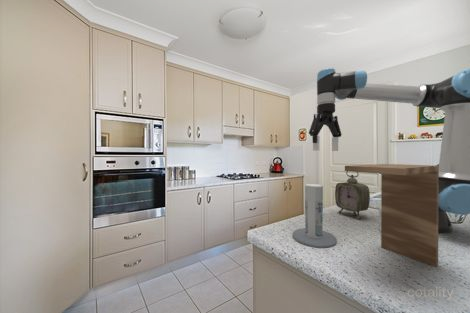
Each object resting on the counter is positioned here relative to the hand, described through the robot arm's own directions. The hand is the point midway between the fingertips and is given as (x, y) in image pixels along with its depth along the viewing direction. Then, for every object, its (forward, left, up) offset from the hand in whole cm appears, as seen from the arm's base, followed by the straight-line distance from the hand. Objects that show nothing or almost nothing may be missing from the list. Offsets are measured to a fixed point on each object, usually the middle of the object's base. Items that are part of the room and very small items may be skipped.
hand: (325, 150), depth 89 cm
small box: (-25, +2, -35) cm, 43 cm away
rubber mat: (+7, +15, -35) cm, 38 cm away
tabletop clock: (-17, -21, -35) cm, 44 cm away
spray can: (+7, +15, -34) cm, 38 cm away
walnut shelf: (-13, +29, -35) cm, 47 cm away
